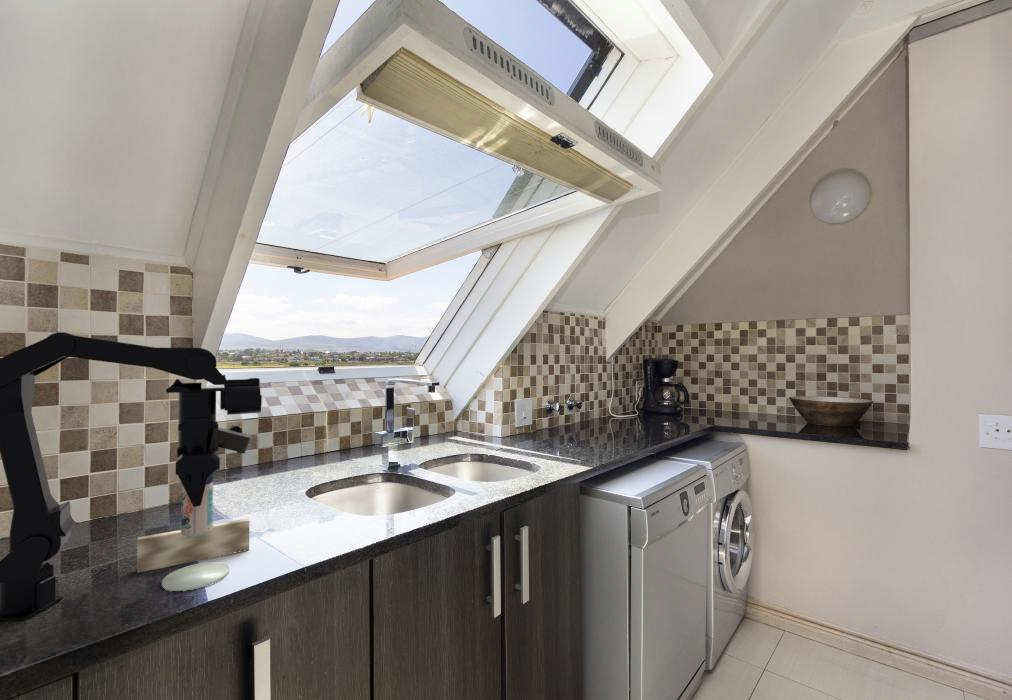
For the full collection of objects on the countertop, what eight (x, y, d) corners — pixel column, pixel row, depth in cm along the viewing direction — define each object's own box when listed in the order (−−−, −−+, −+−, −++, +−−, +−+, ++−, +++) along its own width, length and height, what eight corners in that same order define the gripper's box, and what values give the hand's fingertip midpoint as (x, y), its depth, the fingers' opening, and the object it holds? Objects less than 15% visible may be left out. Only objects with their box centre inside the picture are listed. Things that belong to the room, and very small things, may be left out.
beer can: (178, 533, 85) (179, 467, 86) (208, 526, 89) (209, 462, 89) (184, 540, 82) (184, 471, 82) (215, 533, 85) (216, 467, 86)
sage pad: (147, 591, 79) (147, 588, 79) (187, 565, 89) (187, 562, 89) (206, 591, 79) (206, 588, 79) (240, 565, 89) (240, 561, 89)
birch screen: (137, 572, 86) (137, 539, 86) (138, 569, 87) (138, 537, 87) (249, 550, 96) (249, 520, 96) (248, 547, 97) (248, 518, 97)
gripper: (253, 418, 82) (252, 508, 82) (243, 409, 98) (242, 484, 98) (175, 424, 76) (174, 520, 76) (177, 412, 92) (177, 492, 91)
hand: (196, 502), depth 85 cm, fingers closed on beer can, 5 cm apart
